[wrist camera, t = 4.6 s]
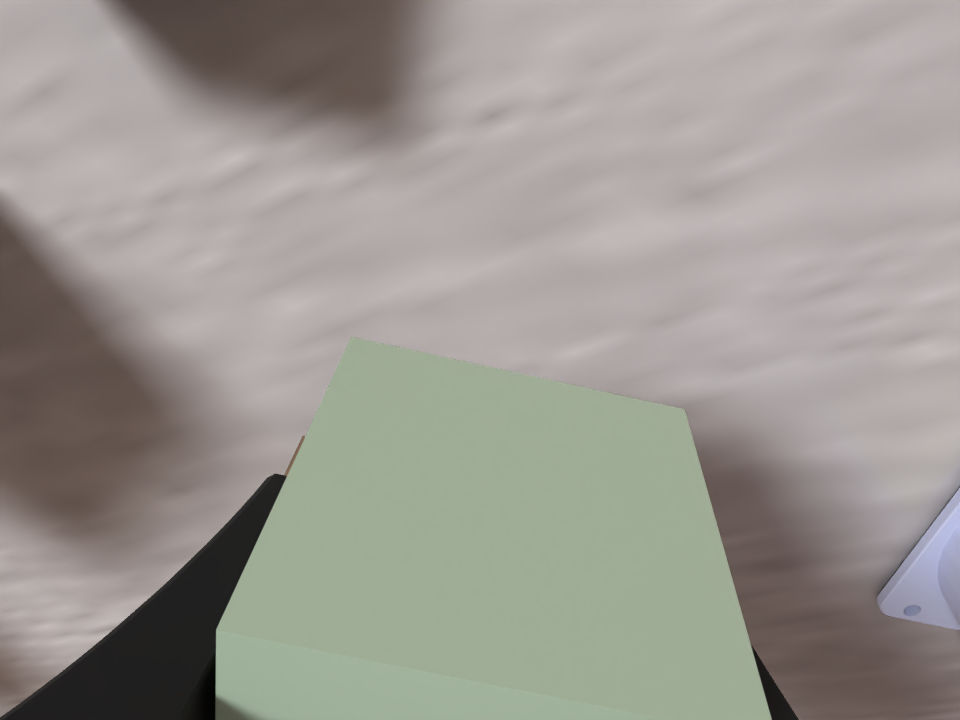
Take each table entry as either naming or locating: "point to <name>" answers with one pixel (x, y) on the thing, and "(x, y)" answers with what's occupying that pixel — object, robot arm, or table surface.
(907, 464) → the table surface
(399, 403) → the sage cube
